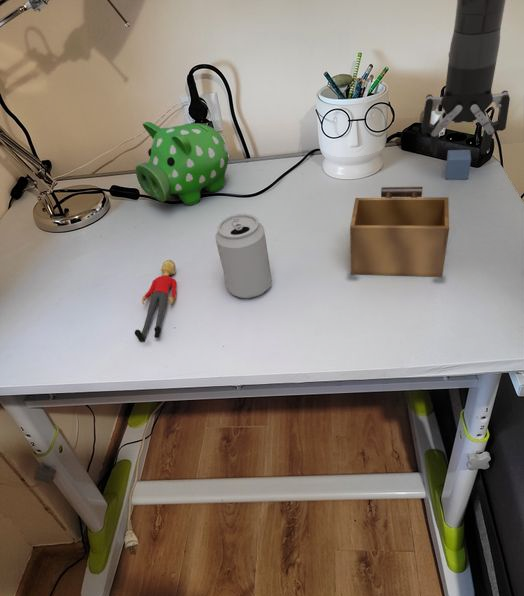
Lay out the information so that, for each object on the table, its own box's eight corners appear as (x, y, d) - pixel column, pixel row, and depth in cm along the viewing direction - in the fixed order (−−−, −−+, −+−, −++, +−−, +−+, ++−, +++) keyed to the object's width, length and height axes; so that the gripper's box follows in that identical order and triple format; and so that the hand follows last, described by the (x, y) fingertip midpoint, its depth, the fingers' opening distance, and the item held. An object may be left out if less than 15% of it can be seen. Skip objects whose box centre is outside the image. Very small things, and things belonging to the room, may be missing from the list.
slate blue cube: (466, 169, 100) (470, 149, 97) (467, 179, 97) (471, 159, 94) (445, 169, 100) (447, 150, 98) (445, 179, 98) (448, 160, 95)
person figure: (129, 321, 75) (155, 249, 87) (129, 339, 77) (155, 267, 90) (163, 327, 75) (185, 254, 87) (162, 345, 78) (184, 272, 90)
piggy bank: (140, 201, 109) (116, 132, 98) (206, 167, 116) (191, 98, 105) (178, 223, 100) (156, 150, 90) (246, 184, 107) (234, 112, 97)
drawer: (442, 277, 78) (441, 228, 87) (449, 228, 72) (448, 180, 80) (350, 274, 82) (358, 227, 90) (349, 227, 75) (358, 181, 84)
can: (233, 306, 80) (218, 243, 72) (223, 279, 86) (208, 217, 77) (278, 293, 81) (268, 229, 73) (265, 267, 86) (255, 205, 78)
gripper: (427, 69, 83) (418, 163, 95) (522, 63, 80) (501, 161, 91) (427, 54, 88) (419, 144, 100) (516, 47, 85) (497, 142, 96)
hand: (458, 152), depth 96 cm, fingers open, 8 cm apart
